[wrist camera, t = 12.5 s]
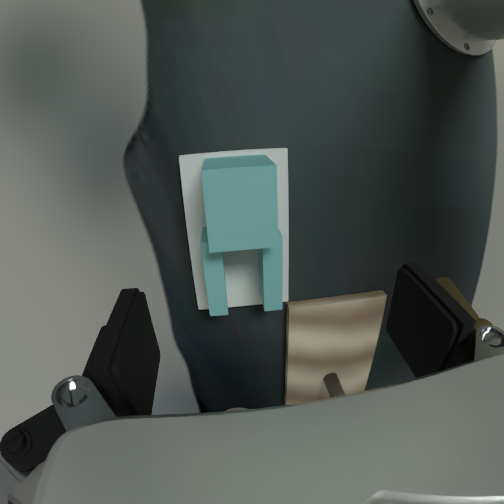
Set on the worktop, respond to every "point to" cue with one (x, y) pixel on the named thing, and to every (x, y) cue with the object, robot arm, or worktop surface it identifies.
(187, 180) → the mat
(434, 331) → the robot arm
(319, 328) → the stand
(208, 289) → the link
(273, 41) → the worktop surface
